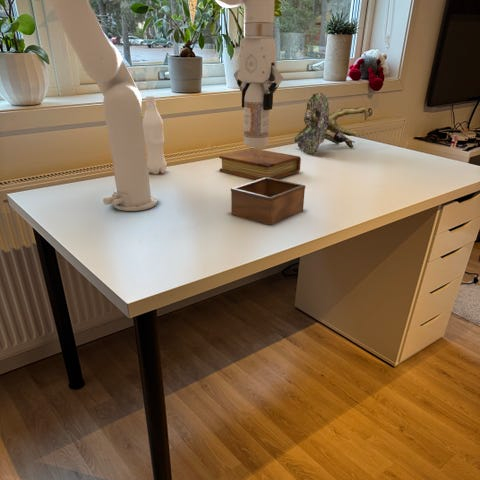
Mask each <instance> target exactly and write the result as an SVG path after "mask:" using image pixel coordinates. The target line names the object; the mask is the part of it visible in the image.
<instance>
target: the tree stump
mask: <svg viewBox="0 0 480 480" xmlns="http://www.w3.org/2000/svg"><path fill="white" fill-rule="evenodd" d="M329 104H330V103H329V101H328V97H326V95H325V94H324V93H322V92H317V93H313V94H312V96H310V98H309V100H308V101H307V102H306V110H305V113H304V117H303V122H304V125H305V127H304V128H303V129H302V130H301V131H299V133H297V134H296V135H295V136H294V143H295V144H297V148H298V149H300V150H302V151H303V152H304V153H306V154H308V155H310V154H313V153H317V151H318V149H320V148H319V146H320V144H323V143H324V142H325V140H327V141H328V142H329V141H330V142H332V143H333V144H335V145H339V144H342V143H345V144H346V146H347V147H348V148H350V149H353V148H354V145H353V143H354V144H355V143H356V141H354V140H352V139H350V138H349V137H350V136H351V137H352V136H354V137H355V136H356V135H357V131H354V130H351V129H348V128H346V127H344V126H341V125H340V124H339V123H337V120H338V118H340V117H344V116H349V115H358V114H364V113H365V111H367V108H366V107H362V106H361V107H354V108H351V107H343V108H339V109H337V110H335V111H332V112H331V113H330V105H329ZM328 131H330V132H331V133H332V134H333V133H334V135H331V134H329V133H328Z"/></svg>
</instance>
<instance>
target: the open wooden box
mask: <svg viewBox="0 0 480 480" xmlns="http://www.w3.org/2000/svg"><path fill="white" fill-rule="evenodd" d="M305 191H306V185H305V184H300V183H297V182H291V181H286V180H282V179H273V178H268V177H265V178H262V179H259V180H256V179H255V180H253V181H250V182H247V183H243V184H241V185H238V186H235V187H231V188H230V195H231V196H230V197H231V199H230V204H231V207H230V208H231V211H230V212H231V215H233V216H237V217H239V218H243V219H247V220H250V221H254V222H257V223H261V224H264V225H268V226H272V225H274V224H277V223H278V222H281V221H283V220H285V219H288V218H290V217H292V216H294V215H296V214H299V213H301V212H303V211H304V203H305V193H306V192H305Z"/></svg>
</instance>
